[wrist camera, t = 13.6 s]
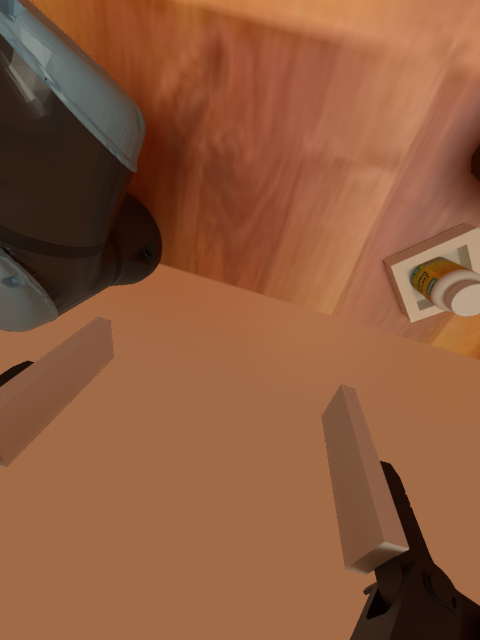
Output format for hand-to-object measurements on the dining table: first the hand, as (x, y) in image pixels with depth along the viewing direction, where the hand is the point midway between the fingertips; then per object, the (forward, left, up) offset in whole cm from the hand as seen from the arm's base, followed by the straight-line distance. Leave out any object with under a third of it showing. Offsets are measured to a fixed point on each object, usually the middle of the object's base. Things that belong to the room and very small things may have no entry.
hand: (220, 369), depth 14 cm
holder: (+15, +20, -29) cm, 38 cm away
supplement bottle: (+15, +20, -28) cm, 37 cm away
